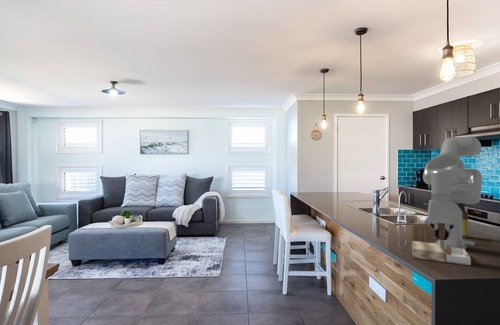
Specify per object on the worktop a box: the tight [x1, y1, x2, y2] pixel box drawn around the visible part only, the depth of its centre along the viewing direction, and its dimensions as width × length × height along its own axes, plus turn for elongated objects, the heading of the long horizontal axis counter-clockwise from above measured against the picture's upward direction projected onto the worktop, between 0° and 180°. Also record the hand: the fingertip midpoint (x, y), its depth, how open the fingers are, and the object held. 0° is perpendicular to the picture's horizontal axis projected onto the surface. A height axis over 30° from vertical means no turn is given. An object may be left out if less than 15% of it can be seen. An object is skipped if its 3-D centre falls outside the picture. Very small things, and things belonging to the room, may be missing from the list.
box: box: [444, 247, 472, 267], centre depth 122 cm, size 8×14×3 cm, turn 151°
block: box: [446, 245, 451, 255], centre depth 124 cm, size 4×4×2 cm
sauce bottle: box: [455, 203, 470, 239], centre depth 158 cm, size 7×6×20 cm
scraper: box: [438, 223, 445, 249], centre depth 125 cm, size 2×9×10 cm, turn 151°
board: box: [411, 240, 447, 263], centre depth 127 cm, size 12×14×4 cm
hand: (441, 238), depth 125 cm, fingers closed on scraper, 2 cm apart
